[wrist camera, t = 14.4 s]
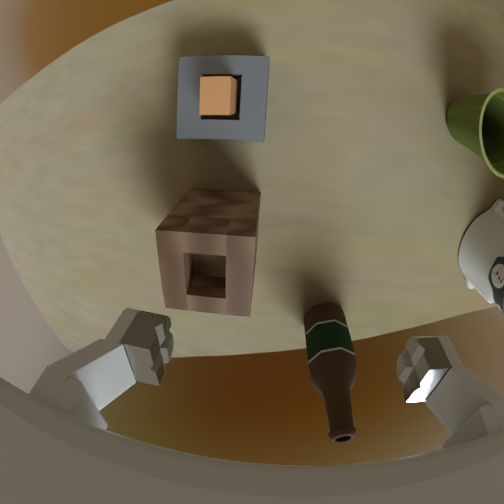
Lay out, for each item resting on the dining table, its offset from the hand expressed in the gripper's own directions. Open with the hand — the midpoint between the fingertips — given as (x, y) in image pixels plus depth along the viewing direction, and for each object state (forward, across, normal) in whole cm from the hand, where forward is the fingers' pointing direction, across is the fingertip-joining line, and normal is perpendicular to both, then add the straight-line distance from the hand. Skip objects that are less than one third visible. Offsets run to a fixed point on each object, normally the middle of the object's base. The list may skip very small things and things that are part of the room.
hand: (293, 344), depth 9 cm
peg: (+30, -8, +8) cm, 32 cm away
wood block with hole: (+32, -8, -10) cm, 35 cm away
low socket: (+32, -8, +8) cm, 34 cm away
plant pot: (+33, +27, +12) cm, 44 cm away
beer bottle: (+33, +10, -27) cm, 44 cm away
